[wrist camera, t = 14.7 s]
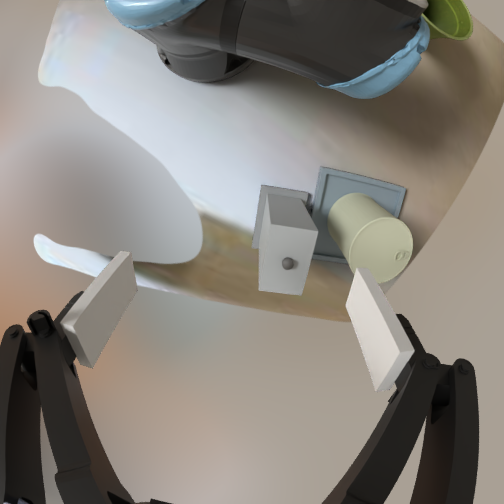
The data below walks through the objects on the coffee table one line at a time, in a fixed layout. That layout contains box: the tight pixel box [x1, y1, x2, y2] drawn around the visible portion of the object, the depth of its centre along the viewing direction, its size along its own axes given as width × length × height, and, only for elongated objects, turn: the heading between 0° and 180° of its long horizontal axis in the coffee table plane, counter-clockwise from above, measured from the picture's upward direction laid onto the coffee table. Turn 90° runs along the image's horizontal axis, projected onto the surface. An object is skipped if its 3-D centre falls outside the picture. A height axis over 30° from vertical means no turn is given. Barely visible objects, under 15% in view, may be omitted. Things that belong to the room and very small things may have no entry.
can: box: [327, 193, 413, 284], centre depth 35 cm, size 9×9×12 cm
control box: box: [252, 185, 318, 295], centre depth 35 cm, size 10×7×15 cm
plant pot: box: [421, 0, 473, 41], centre depth 20 cm, size 12×12×11 cm
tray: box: [310, 166, 406, 264], centre depth 41 cm, size 15×15×1 cm
